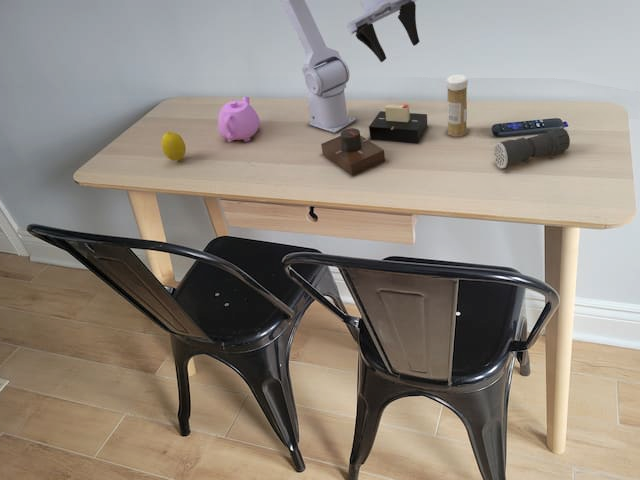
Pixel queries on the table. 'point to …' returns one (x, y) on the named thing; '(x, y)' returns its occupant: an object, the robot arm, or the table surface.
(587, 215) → the table surface
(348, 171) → the walnut console
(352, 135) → the round dial
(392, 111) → the bar knob
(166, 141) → the lemon
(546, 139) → the flashlight
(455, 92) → the sprinkles bottle
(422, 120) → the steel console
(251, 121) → the teapot
